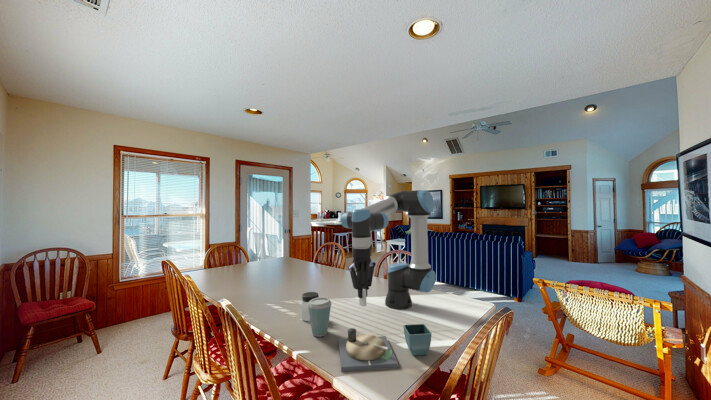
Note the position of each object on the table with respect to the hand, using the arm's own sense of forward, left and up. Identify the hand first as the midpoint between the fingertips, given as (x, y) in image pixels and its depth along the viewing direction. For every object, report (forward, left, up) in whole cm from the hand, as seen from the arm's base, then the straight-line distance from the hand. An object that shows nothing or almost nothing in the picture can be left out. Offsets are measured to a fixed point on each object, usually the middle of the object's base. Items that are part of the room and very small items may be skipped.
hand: (362, 305), depth 112 cm
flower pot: (-20, +7, -17) cm, 27 cm away
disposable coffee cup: (+18, -13, -17) cm, 28 cm away
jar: (+23, -30, -17) cm, 41 cm away
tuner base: (0, +6, -16) cm, 17 cm away
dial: (-1, +6, -15) cm, 16 cm away
